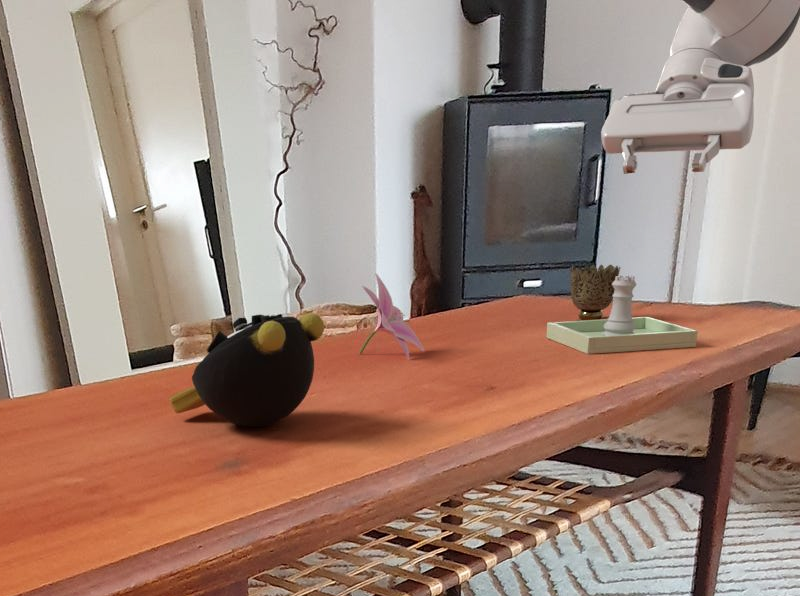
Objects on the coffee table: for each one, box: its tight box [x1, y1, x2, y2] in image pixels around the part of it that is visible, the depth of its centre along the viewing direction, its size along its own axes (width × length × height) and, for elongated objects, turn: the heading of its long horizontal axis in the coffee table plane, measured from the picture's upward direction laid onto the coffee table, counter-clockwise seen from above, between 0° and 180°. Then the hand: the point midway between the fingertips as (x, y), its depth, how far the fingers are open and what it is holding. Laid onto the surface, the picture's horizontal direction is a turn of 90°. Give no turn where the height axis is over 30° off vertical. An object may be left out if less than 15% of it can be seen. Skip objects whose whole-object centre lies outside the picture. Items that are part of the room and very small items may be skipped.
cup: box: [569, 264, 621, 321], centre depth 151 cm, size 8×7×8 cm
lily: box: [359, 273, 425, 360], centre depth 129 cm, size 12×12×10 cm
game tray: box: [545, 316, 699, 355], centre depth 134 cm, size 16×14×2 cm
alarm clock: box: [169, 312, 325, 428], centre depth 96 cm, size 12×15×15 cm
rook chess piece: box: [602, 275, 637, 336], centre depth 133 cm, size 4×4×8 cm
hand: (662, 169), depth 134 cm, fingers open, 8 cm apart
